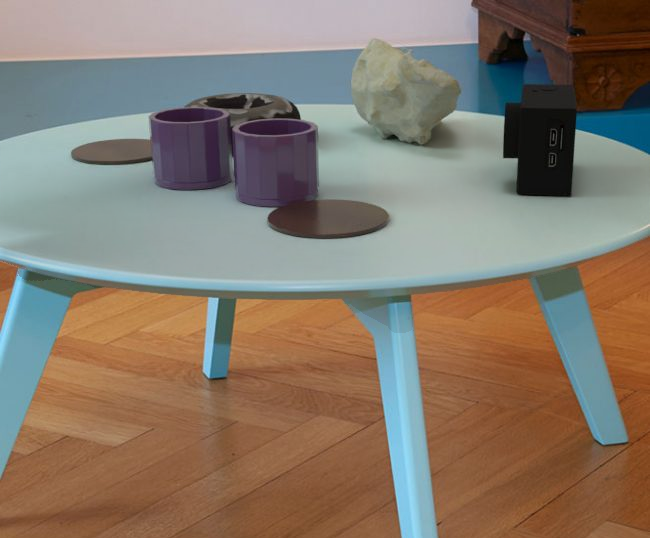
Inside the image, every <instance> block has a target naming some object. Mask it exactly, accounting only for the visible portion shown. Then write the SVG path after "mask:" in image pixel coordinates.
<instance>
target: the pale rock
mask: <svg viewBox="0 0 650 538" xmlns="http://www.w3.org/2000/svg"><path fill="white" fill-rule="evenodd" d="M403 51H407V52H403ZM413 52H414V50H413V49H411V48H410V49H409V48H407V47H405V46H403V45H402V47H401V50H400V49H399V48H396V47H394V46H392V45H391V44H390V43H388V42H387V41H384V40H382V39H379V38H376V37H373V38H371V39H370V40H369V42H368V43H367V45H366V46H365V47H364V49H363V50H362V51H361V52H360V54H359V55H358V57H357V59H356V62H355V64H354V65H353V69H352V73H351V80H350V93H351V96H352V97H351V99H352V102H353V105H354V107H355V109H356V112H357V114H358V115H359V117H360V118H361V119H362V120H364V121H365V122H366V123H367V124H368V125H370V126H371V127H373V128H374V129H375V130H376V133H377V134H378V135H379V136H380V139H384V140H385V139H388V138H389V137H390V136H392V135H394V136H396V137H397V138H398V140H399V141H401V142H406V143H408V144H412V143H413V142H416V143H417V144H419V145H425V144H426V143H427V142H428V141H429V140H430V139H431V138H432V129H433V128H435V127H436V126H438V125H439V126H440V124H441V122H442V121H443V119H445V118H447V117H448V116H449V115H451V114H453V113H454V112H455V110H456V109H457V106H458V104H457V102H458V99H459V96H460V95H461V93H462V89H461V86H460V83H459V81H458V79H456V78H454V77H453V76H452V75H450V73H448V72H445V71H444V70H443V69H438V68H436V67H435V66H434V65H433V64H432V63H431V62H429V61H428V60H427V59H426V58H422V59H420V60H419V59H418V60H417V59H416V58H414V57H413V56H412V55H413V54H412V53H413Z"/></svg>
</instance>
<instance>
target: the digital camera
mask: <svg viewBox="0 0 650 538" xmlns="http://www.w3.org/2000/svg"><path fill="white" fill-rule="evenodd" d="M521 89H522V90H521V99H520V102H510V101H509V102H508V101H506V102H505V106H504V118H503V119H504V120H503V142H502V144H503V145H502V159H517V166H516V167H517V170H516V188H515V189H516V190H515V192H516V194H517V195H530V196H531V195H532V196H560V195H568V196H567V197H570V196H569V195H571V196H572V191H573V189H572V188H573V176H574V175H573V174H574V159H575V145H576V127H577V113H578V108H577V99H576V89H575V85H574V84H552V83H551V84H546V83H542V84H541V83H540V84H539V83H538V84H537V83H523V84H522V87H521Z"/></svg>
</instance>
